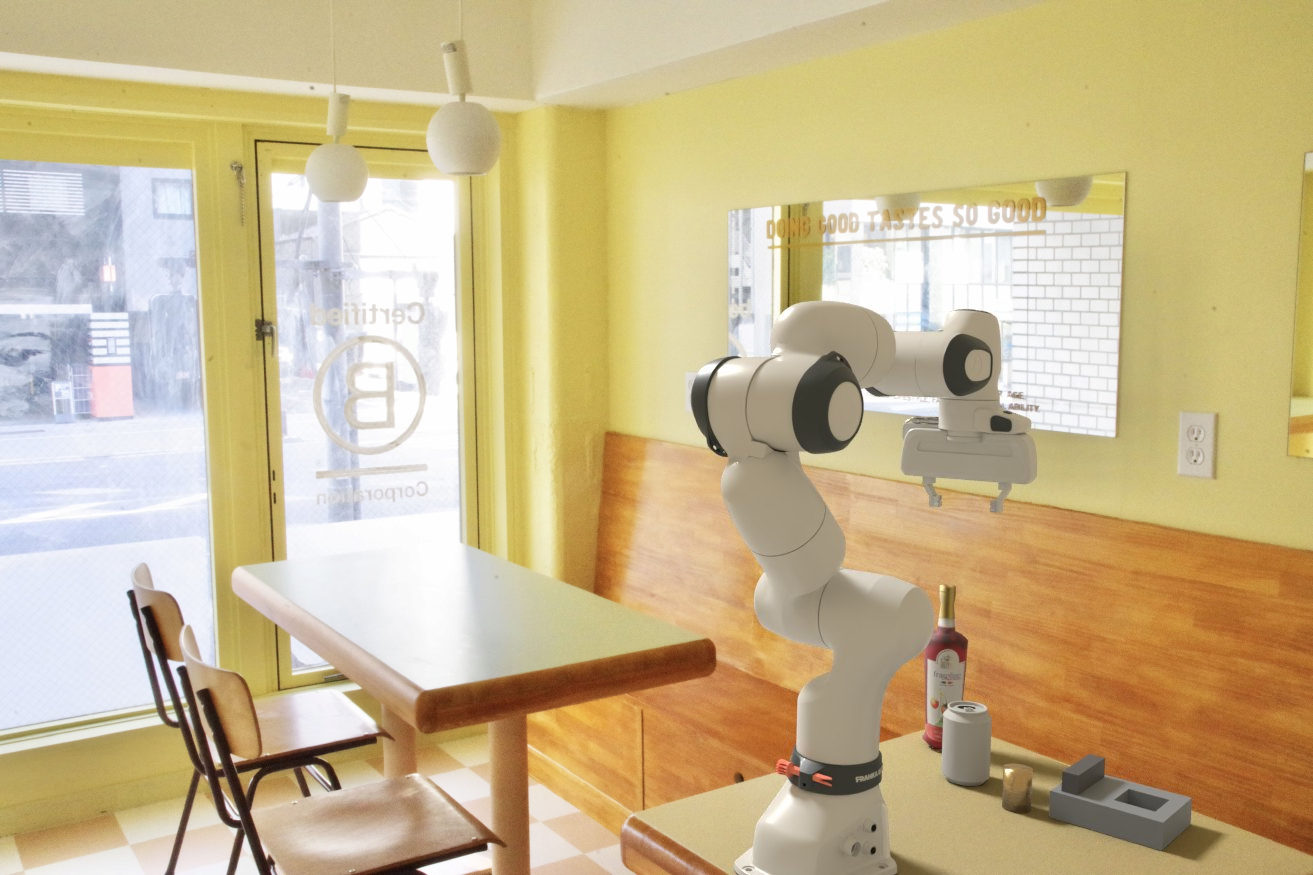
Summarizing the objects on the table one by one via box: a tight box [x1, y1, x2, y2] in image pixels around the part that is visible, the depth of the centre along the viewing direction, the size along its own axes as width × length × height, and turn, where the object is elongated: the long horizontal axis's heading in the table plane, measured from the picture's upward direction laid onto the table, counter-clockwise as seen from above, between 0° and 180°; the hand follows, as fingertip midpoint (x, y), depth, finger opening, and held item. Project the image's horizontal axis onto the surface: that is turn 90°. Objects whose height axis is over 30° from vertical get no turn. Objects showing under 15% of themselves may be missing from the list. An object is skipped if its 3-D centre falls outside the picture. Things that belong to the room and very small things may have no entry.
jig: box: [1048, 753, 1193, 851], centre depth 165 cm, size 12×16×7 cm
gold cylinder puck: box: [1001, 763, 1034, 814], centre depth 170 cm, size 4×4×6 cm
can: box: [940, 700, 993, 787], centre depth 181 cm, size 8×8×12 cm
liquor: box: [921, 584, 969, 751], centre depth 195 cm, size 7×7×28 cm
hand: (965, 509), depth 172 cm, fingers open, 8 cm apart
